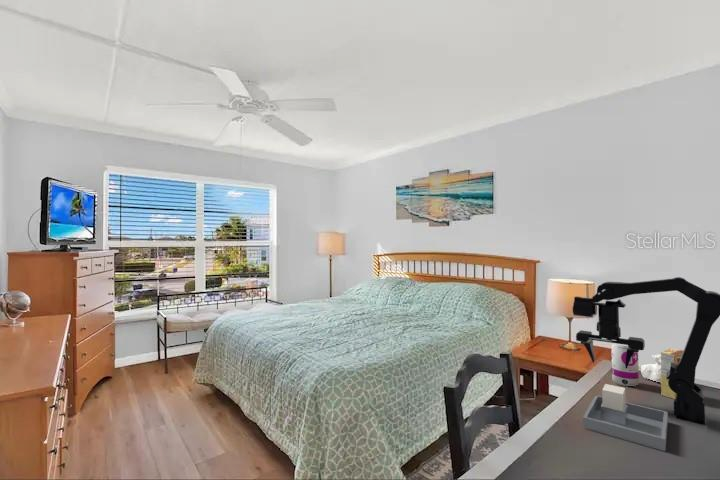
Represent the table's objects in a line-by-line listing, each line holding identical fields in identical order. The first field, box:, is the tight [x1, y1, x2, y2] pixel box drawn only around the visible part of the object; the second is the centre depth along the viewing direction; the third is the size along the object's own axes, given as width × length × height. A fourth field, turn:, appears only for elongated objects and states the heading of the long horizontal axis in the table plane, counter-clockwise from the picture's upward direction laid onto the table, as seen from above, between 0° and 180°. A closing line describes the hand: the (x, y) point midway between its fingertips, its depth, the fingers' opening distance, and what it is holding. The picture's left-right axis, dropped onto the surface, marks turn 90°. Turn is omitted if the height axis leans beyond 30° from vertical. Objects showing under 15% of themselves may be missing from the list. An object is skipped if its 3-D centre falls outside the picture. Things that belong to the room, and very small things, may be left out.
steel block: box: [601, 402, 628, 426], centre depth 107 cm, size 6×6×4 cm
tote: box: [582, 395, 669, 452], centre depth 104 cm, size 18×20×4 cm
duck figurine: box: [640, 353, 661, 384], centre depth 138 cm, size 12×8×11 cm
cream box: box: [601, 383, 627, 411], centre depth 108 cm, size 5×6×5 cm
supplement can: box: [610, 343, 640, 387], centre depth 136 cm, size 8×8×15 cm
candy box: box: [660, 347, 684, 400], centre depth 126 cm, size 9×4×15 cm, turn 119°
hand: (609, 365), depth 121 cm, fingers open, 9 cm apart
